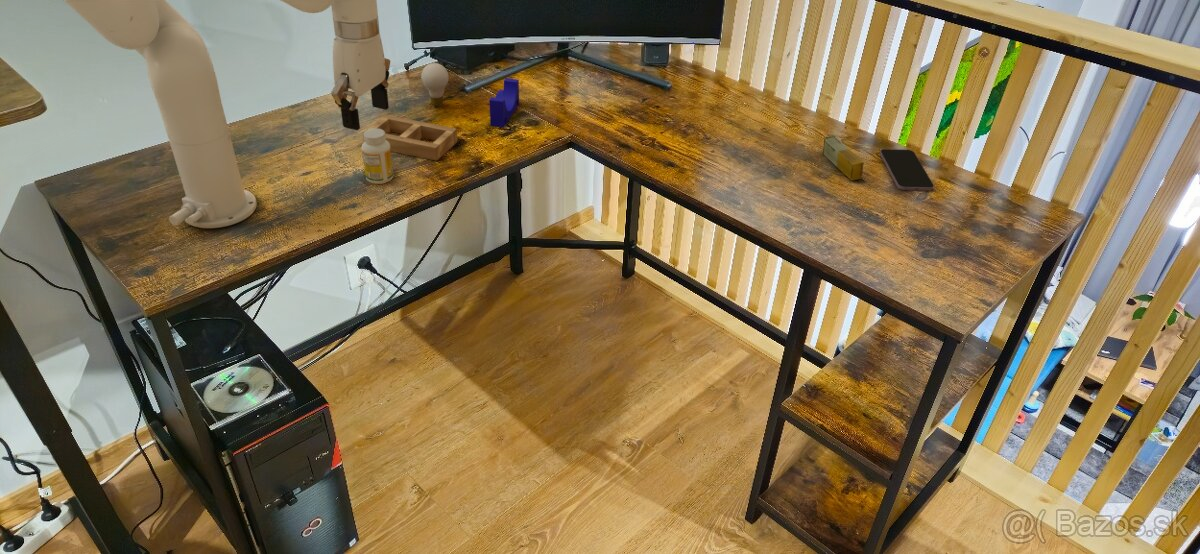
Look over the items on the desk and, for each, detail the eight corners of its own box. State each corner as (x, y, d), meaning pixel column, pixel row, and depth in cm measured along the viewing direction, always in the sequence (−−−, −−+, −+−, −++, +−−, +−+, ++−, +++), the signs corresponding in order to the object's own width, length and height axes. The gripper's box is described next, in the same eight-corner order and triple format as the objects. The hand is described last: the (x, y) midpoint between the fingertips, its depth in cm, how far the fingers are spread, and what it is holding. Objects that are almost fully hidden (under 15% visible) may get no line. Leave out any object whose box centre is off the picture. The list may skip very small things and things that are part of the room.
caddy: (436, 161, 170) (435, 147, 168) (364, 145, 174) (362, 132, 172) (458, 141, 177) (457, 128, 175) (387, 127, 181) (386, 114, 179)
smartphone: (899, 187, 166) (878, 148, 177) (897, 191, 166) (877, 153, 178) (935, 187, 166) (913, 149, 178) (934, 192, 167) (911, 154, 178)
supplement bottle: (373, 187, 161) (366, 142, 155) (361, 175, 164) (354, 131, 158) (399, 179, 163) (393, 134, 158) (386, 168, 167) (380, 124, 161)
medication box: (821, 154, 177) (823, 137, 175) (833, 152, 178) (835, 135, 175) (850, 181, 168) (852, 163, 166) (862, 178, 168) (865, 161, 166)
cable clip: (500, 102, 193) (499, 77, 189) (519, 104, 192) (518, 79, 188) (483, 124, 183) (482, 99, 180) (503, 127, 183) (502, 101, 179)
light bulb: (456, 105, 191) (453, 63, 185) (438, 114, 187) (434, 71, 181) (436, 98, 193) (432, 56, 187) (418, 107, 189) (414, 65, 183)
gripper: (365, 8, 153) (374, 96, 163) (307, 38, 140) (321, 132, 150) (401, 15, 151) (408, 104, 161) (347, 46, 138) (358, 141, 148)
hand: (366, 117), depth 155 cm, fingers open, 9 cm apart
